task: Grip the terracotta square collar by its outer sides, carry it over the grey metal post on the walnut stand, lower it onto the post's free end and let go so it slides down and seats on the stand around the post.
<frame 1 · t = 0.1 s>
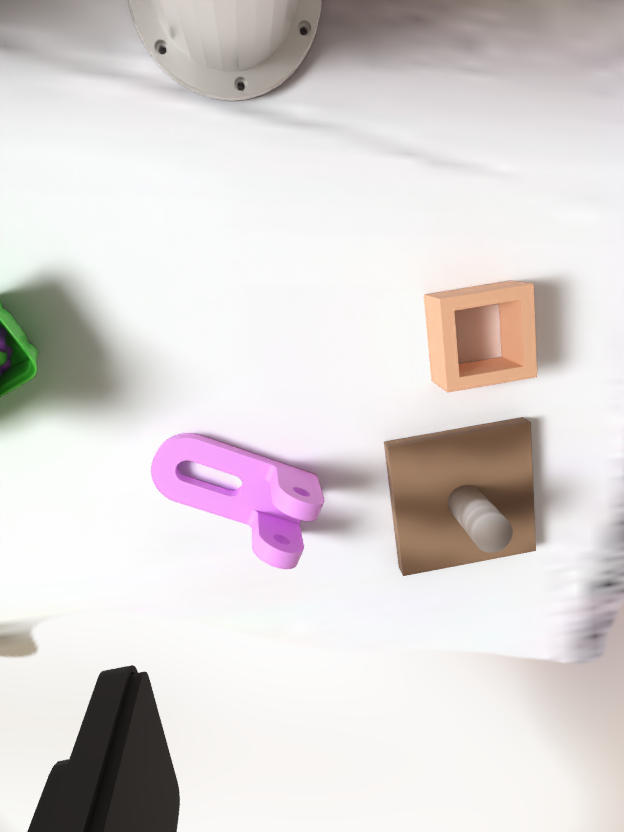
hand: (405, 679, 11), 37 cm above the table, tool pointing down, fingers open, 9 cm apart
post stand: (458, 494, 51), on the table
bracket: (232, 478, 49), on the table
collar: (470, 331, 47), on the table
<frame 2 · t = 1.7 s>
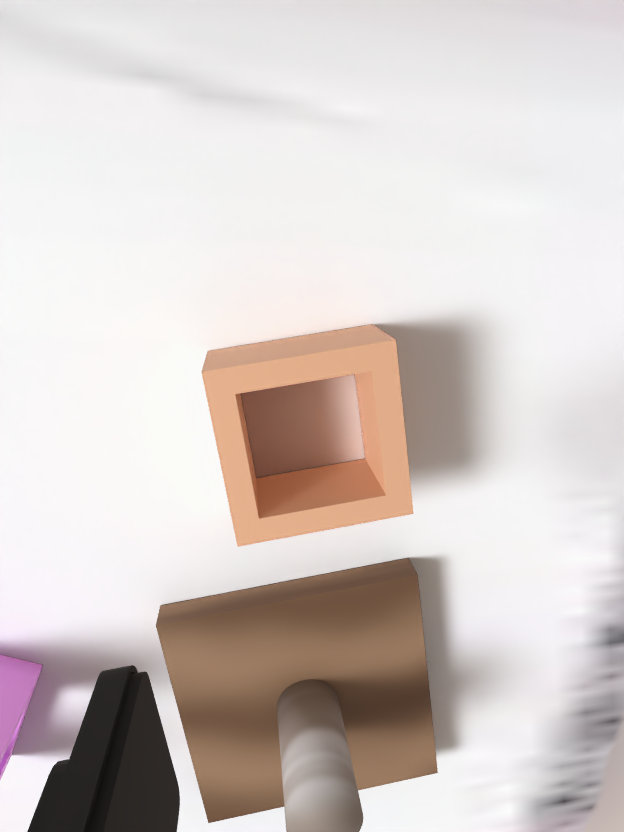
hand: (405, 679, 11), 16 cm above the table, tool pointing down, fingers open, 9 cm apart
post stand: (304, 682, 30), on the table
collar: (302, 416, 26), on the table
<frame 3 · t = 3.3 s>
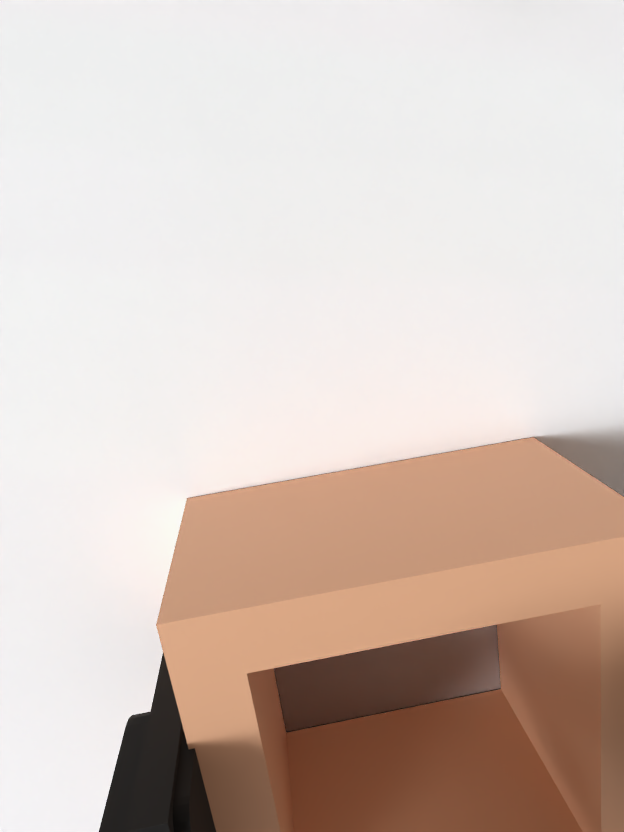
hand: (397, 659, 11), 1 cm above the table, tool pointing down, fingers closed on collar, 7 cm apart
collar: (382, 617, 13), on the table, touching gripper
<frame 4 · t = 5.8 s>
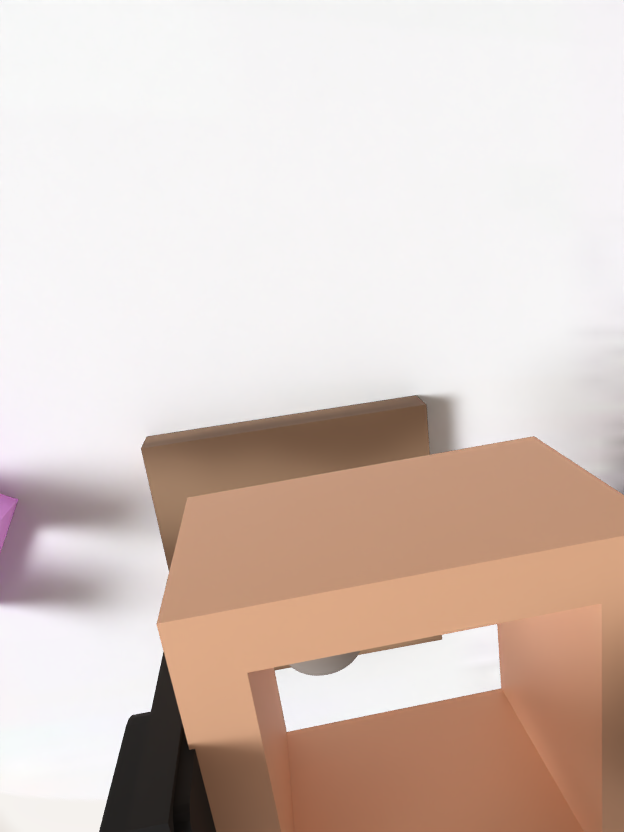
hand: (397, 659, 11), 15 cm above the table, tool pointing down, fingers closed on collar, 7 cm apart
post stand: (301, 535, 28), on the table
collar: (383, 616, 13), point 14 cm above the table, touching gripper
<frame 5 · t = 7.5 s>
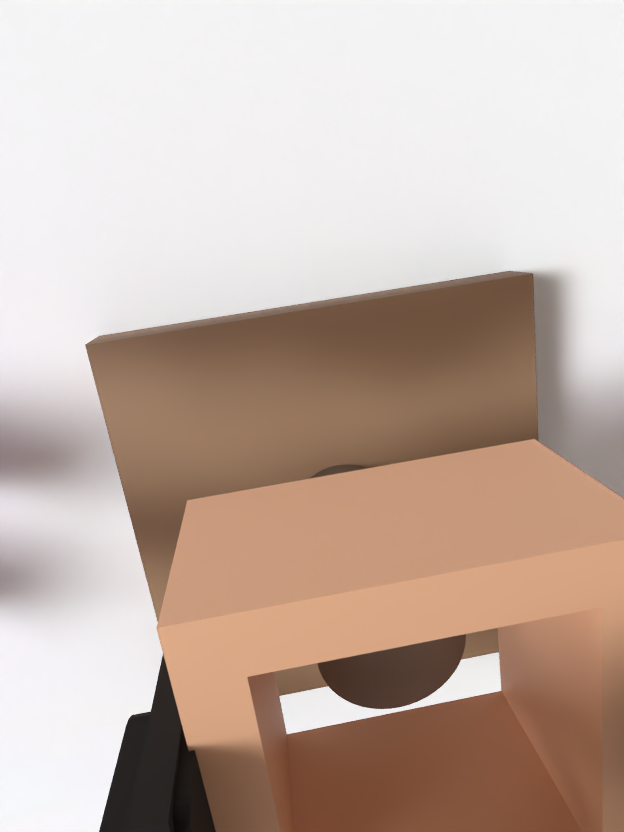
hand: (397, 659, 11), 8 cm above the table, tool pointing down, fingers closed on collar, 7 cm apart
post stand: (335, 491, 19), on the table
collar: (383, 619, 13), point 6 cm above the table, touching gripper
when the fingers open (7 cm above the table, at t = 8.6 s): collar drops 4 cm, resting on post stand.
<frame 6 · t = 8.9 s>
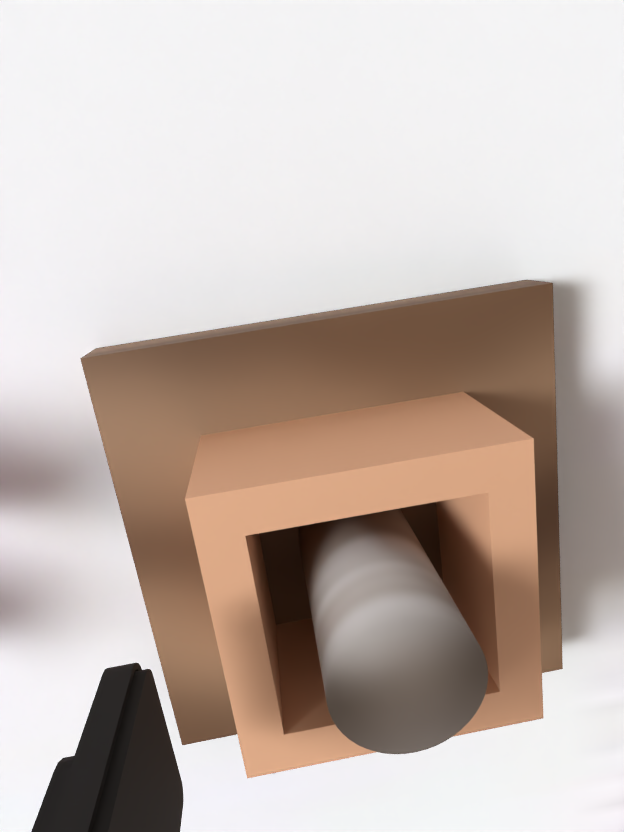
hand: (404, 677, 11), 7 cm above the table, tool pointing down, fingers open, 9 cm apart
post stand: (343, 510, 18), on the table
collar: (350, 532, 16), point 1 cm above the table, touching post stand
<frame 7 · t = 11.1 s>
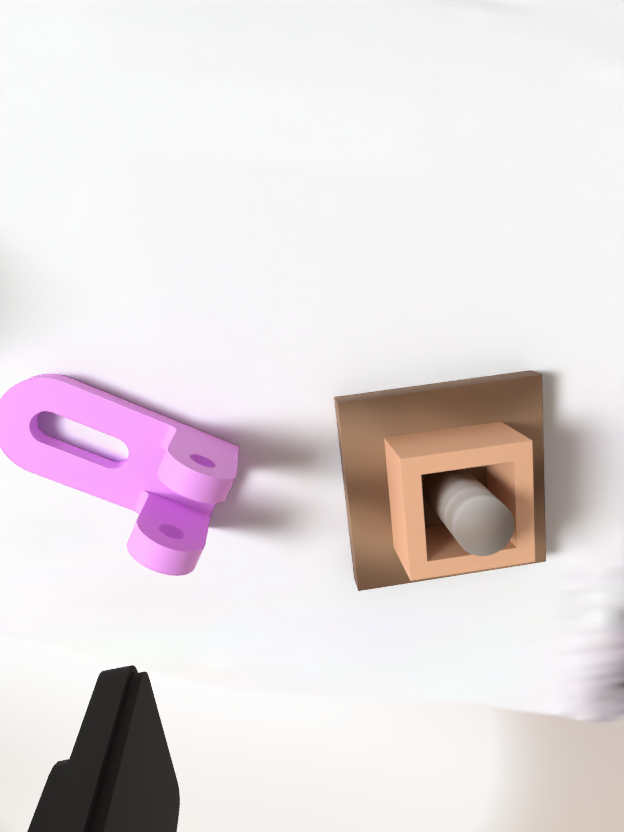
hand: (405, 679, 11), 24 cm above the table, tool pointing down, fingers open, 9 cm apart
post stand: (439, 477, 36), on the table
bracket: (118, 445, 34), on the table
collar: (446, 485, 35), point 1 cm above the table, touching post stand
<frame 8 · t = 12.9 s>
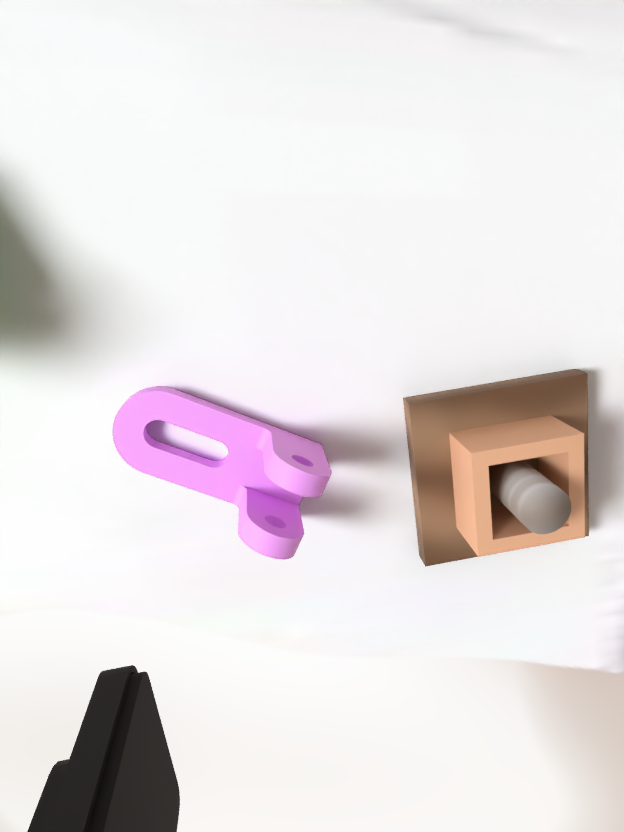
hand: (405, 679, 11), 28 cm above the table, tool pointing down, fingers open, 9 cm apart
post stand: (494, 465, 41), on the table
bracket: (215, 446, 39), on the table
collar: (502, 472, 40), point 1 cm above the table, touching post stand
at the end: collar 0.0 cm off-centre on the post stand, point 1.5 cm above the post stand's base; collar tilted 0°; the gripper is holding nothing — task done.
